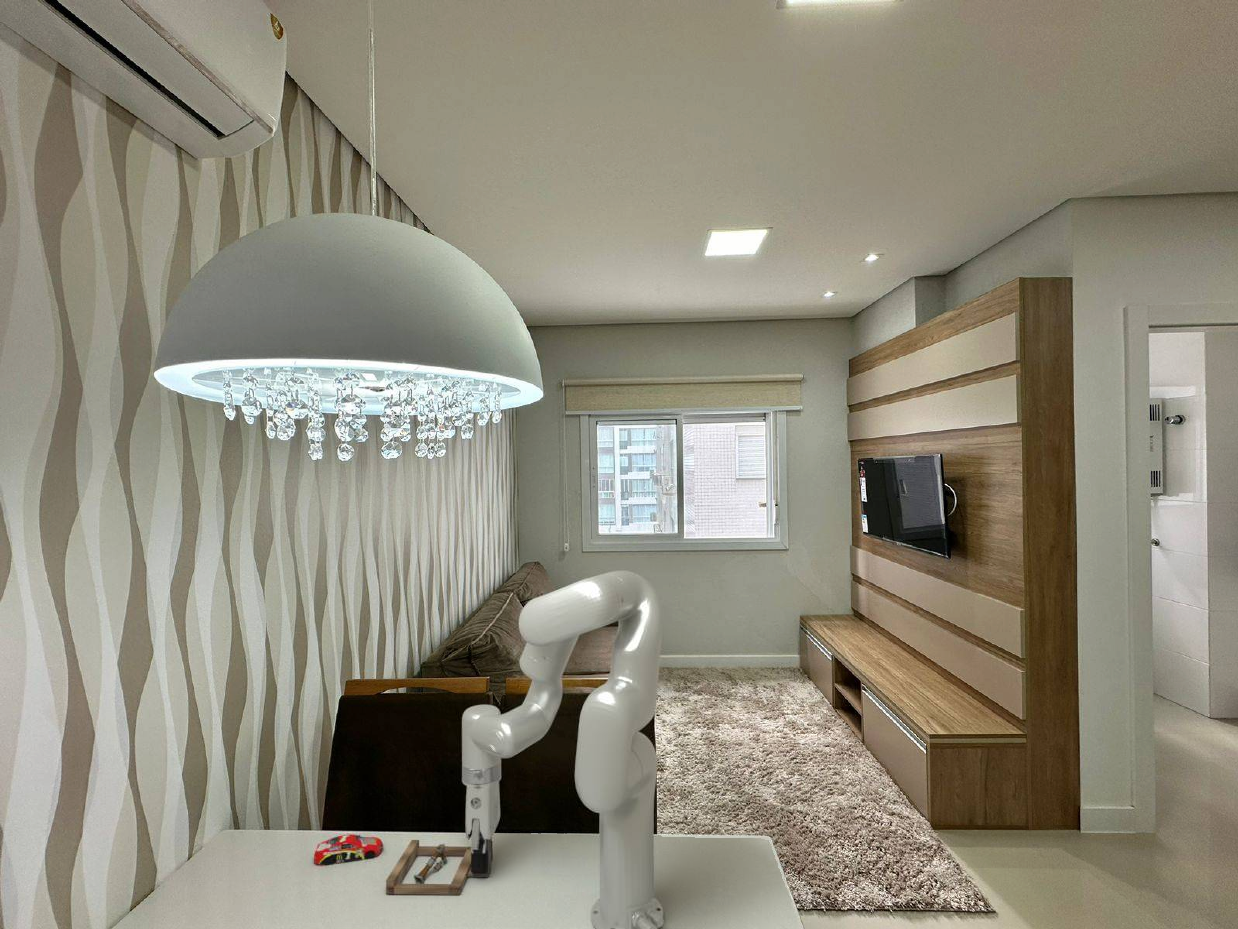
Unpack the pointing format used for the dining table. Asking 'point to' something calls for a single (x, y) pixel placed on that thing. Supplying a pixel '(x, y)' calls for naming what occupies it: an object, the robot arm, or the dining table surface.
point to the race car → (347, 849)
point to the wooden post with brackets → (431, 862)
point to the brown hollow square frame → (445, 889)
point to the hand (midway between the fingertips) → (482, 866)
